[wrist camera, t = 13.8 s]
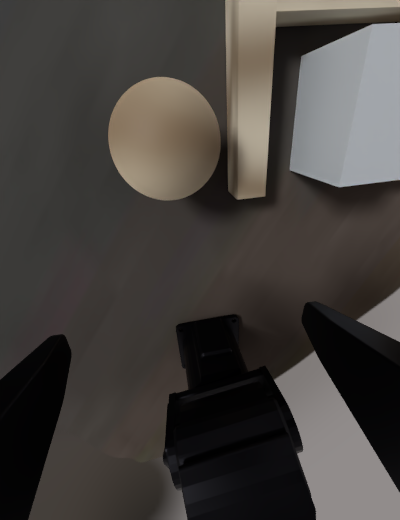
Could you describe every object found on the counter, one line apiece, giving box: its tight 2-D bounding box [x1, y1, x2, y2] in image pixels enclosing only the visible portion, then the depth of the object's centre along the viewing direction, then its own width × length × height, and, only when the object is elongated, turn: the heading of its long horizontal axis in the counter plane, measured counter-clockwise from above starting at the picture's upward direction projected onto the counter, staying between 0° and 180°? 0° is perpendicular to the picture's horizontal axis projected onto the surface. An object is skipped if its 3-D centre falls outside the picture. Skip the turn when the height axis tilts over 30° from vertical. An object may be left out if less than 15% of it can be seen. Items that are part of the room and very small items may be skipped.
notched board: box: [225, 0, 400, 200], centre depth 15 cm, size 14×14×2 cm
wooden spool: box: [108, 77, 221, 200], centre depth 15 cm, size 6×6×5 cm
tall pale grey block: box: [290, 23, 400, 187], centre depth 15 cm, size 7×4×6 cm, turn 4°
